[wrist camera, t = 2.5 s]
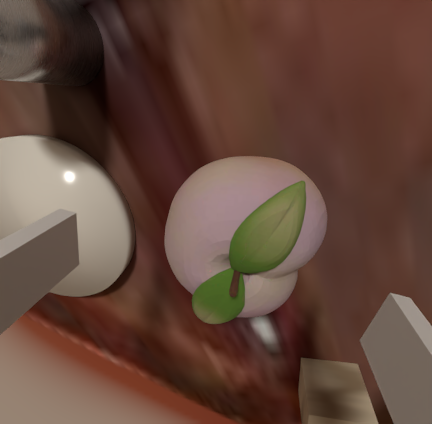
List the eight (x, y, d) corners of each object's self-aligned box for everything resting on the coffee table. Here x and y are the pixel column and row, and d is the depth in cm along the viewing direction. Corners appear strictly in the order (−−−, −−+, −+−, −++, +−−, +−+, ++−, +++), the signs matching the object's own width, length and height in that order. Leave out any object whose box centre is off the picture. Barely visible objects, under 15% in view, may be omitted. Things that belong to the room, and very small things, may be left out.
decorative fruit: (212, 121, 17) (152, 141, 8) (326, 163, 17) (397, 232, 8) (179, 233, 21) (114, 330, 12) (271, 268, 21) (274, 394, 12)
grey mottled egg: (103, 5, 16) (-8, -62, 9) (103, 92, 18) (13, 87, 11) (30, -9, 16) (-122, -81, 10) (39, 78, 18) (-82, 66, 12)
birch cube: (357, 363, 23) (379, 425, 19) (350, 397, 25) (368, 461, 21) (300, 356, 24) (308, 414, 20) (298, 390, 26) (304, 449, 22)
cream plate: (140, 157, 19) (130, 162, 18) (131, 302, 25) (124, 314, 24) (-34, 116, 20) (-55, 117, 19) (-1, 264, 27) (-15, 272, 25)
